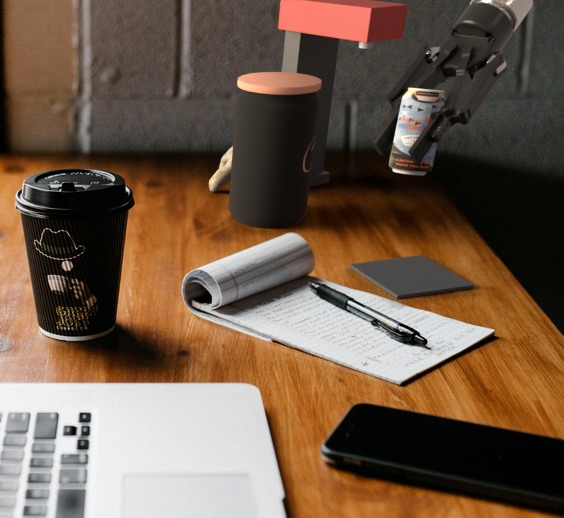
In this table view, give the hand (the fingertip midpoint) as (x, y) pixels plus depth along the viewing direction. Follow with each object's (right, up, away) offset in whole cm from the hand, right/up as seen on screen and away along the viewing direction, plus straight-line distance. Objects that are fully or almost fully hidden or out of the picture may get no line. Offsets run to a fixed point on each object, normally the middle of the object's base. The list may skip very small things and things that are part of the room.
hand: (395, 153), depth 123 cm
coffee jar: (-19, -10, -4) cm, 22 cm away
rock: (-22, 0, +13) cm, 26 cm away
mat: (-6, -22, -23) cm, 32 cm away
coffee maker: (-9, -4, +6) cm, 12 cm away
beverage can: (+3, -2, +3) cm, 5 cm away
